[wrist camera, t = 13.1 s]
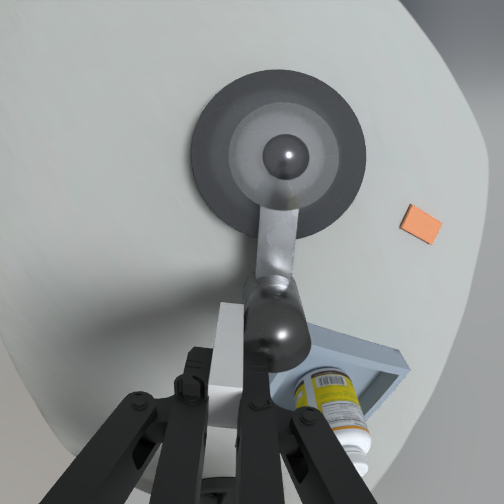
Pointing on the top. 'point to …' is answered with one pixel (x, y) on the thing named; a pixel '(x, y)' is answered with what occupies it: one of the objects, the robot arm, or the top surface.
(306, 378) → the supplement bottle
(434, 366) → the top surface
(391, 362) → the tray
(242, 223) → the crank housing
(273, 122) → the crank
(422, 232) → the orange flat block
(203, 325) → the top surface
